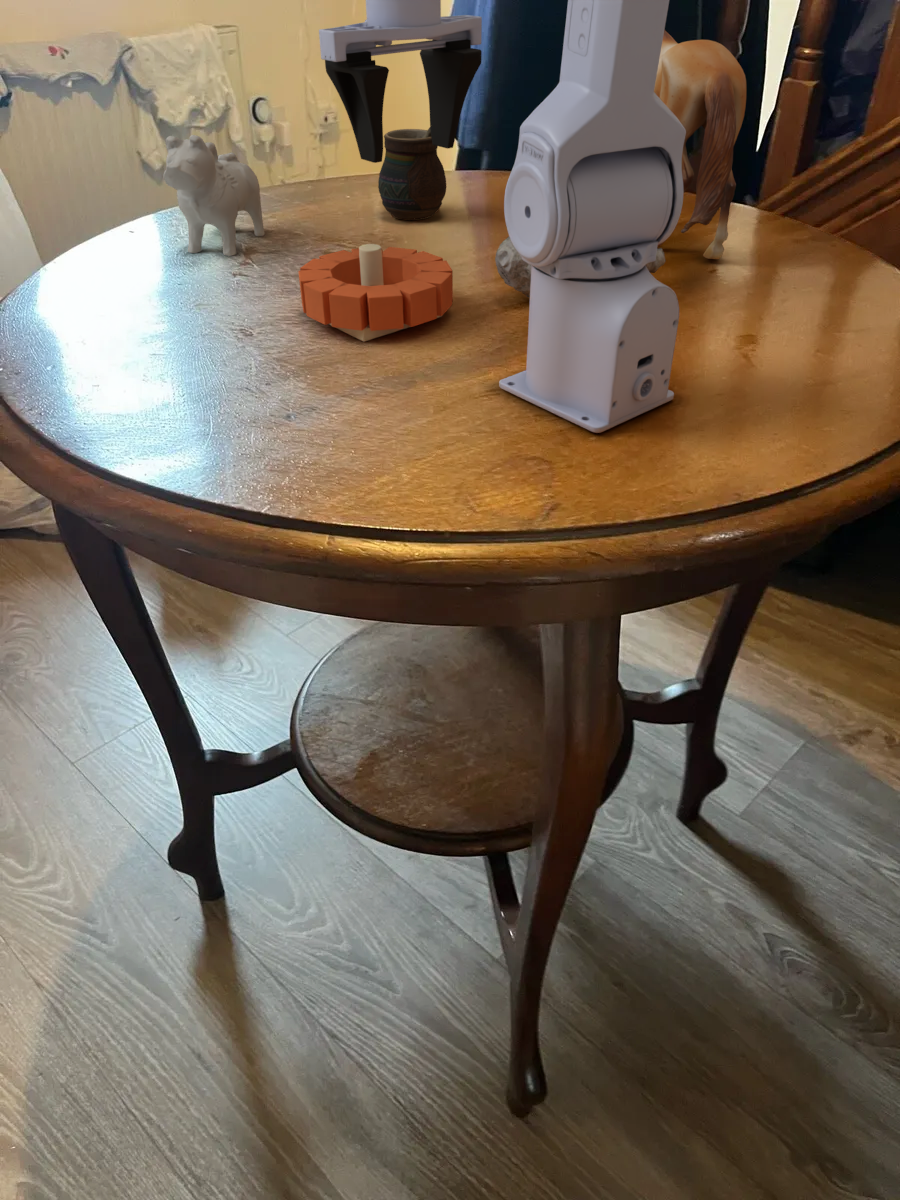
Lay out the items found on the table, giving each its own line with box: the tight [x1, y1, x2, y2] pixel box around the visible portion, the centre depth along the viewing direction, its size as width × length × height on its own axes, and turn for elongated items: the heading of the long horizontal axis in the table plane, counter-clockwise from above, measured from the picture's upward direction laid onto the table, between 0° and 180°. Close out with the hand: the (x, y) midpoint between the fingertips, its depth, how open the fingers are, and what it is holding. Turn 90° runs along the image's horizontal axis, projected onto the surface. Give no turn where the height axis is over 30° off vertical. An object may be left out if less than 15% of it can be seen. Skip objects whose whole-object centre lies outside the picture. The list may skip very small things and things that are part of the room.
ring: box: [297, 246, 454, 331], centre depth 73 cm, size 12×12×3 cm
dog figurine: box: [162, 134, 266, 257], centre depth 86 cm, size 5×13×11 cm, turn 165°
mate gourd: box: [377, 127, 447, 221], centre depth 94 cm, size 7×8×10 cm
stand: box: [328, 243, 443, 343], centre depth 73 cm, size 8×8×6 cm
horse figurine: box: [654, 29, 747, 260], centre depth 85 cm, size 31×8×21 cm, turn 13°
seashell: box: [494, 235, 667, 299], centre depth 76 cm, size 6×14×8 cm, turn 95°
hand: (408, 153), depth 75 cm, fingers open, 7 cm apart
